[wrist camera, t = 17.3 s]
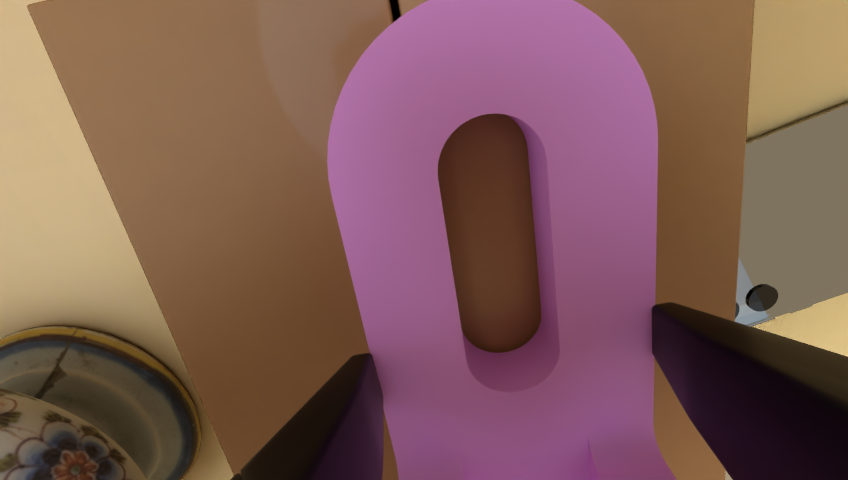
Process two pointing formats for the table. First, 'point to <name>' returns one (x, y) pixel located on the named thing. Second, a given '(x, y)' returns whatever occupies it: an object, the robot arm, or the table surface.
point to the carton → (227, 184)
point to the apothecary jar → (90, 410)
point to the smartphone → (794, 218)
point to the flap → (676, 193)
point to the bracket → (554, 236)
